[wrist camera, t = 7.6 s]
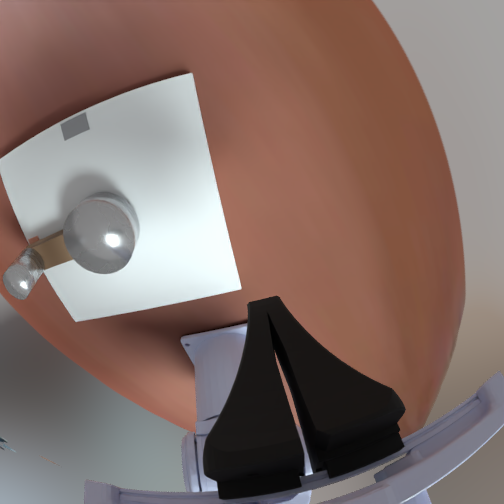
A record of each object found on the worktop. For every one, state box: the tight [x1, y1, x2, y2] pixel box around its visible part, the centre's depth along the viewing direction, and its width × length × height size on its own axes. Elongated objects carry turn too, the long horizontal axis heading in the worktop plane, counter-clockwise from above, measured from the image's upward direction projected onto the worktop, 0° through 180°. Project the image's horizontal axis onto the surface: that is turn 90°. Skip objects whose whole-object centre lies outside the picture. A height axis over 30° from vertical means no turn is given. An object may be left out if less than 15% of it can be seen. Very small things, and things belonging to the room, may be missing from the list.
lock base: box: [0, 73, 241, 322], centre depth 17 cm, size 16×16×1 cm
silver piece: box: [3, 192, 140, 300], centre depth 15 cm, size 11×5×4 cm, turn 102°
